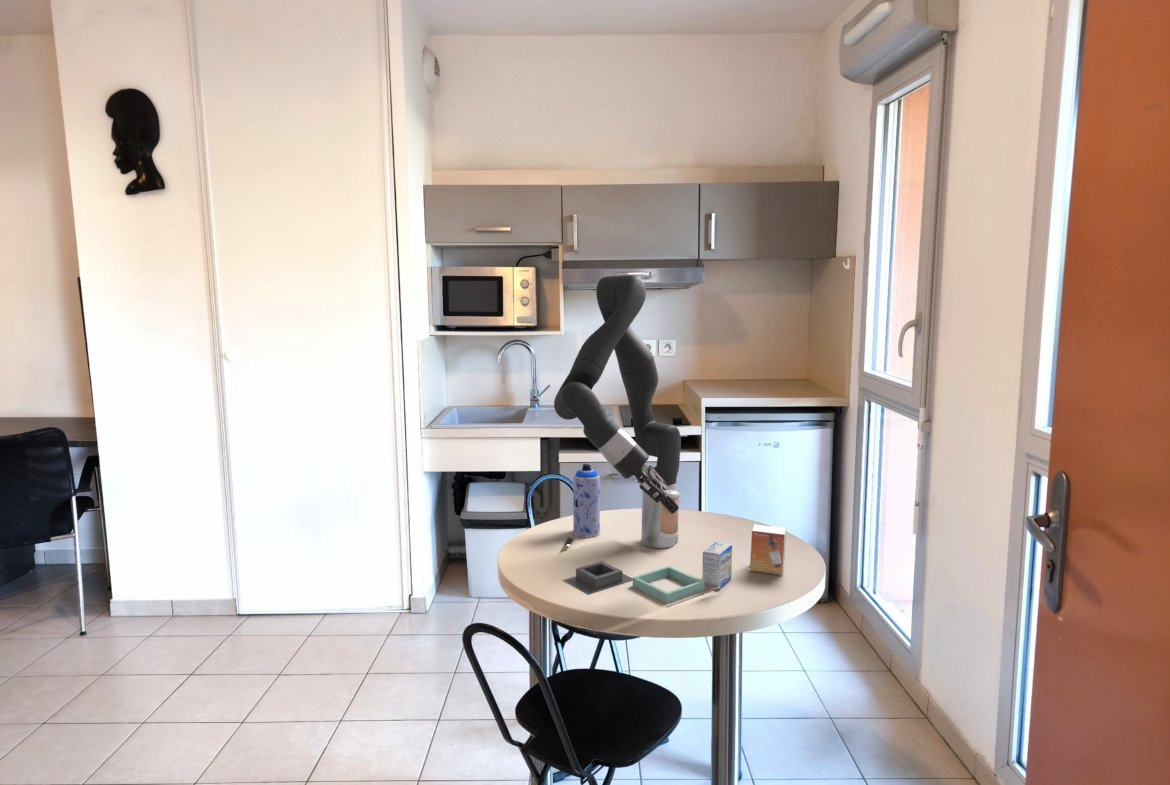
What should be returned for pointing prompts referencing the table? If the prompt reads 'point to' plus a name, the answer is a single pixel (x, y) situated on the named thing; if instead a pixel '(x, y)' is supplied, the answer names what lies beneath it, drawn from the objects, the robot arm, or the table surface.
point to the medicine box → (717, 564)
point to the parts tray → (692, 588)
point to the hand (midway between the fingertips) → (675, 507)
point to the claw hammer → (568, 541)
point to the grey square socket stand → (597, 578)
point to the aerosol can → (586, 502)
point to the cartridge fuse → (669, 517)
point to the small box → (768, 549)
